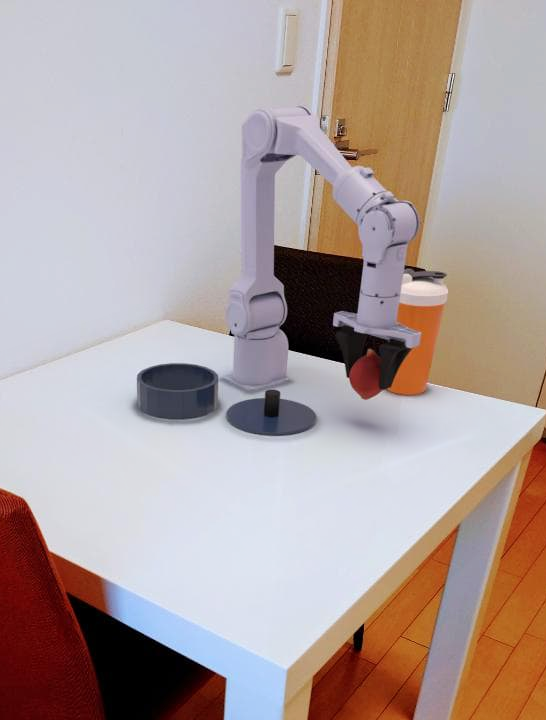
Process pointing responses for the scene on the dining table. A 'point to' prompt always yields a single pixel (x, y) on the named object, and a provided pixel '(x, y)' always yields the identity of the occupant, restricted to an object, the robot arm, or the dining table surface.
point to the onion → (366, 375)
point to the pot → (177, 391)
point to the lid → (271, 415)
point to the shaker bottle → (419, 326)
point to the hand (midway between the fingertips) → (368, 381)
